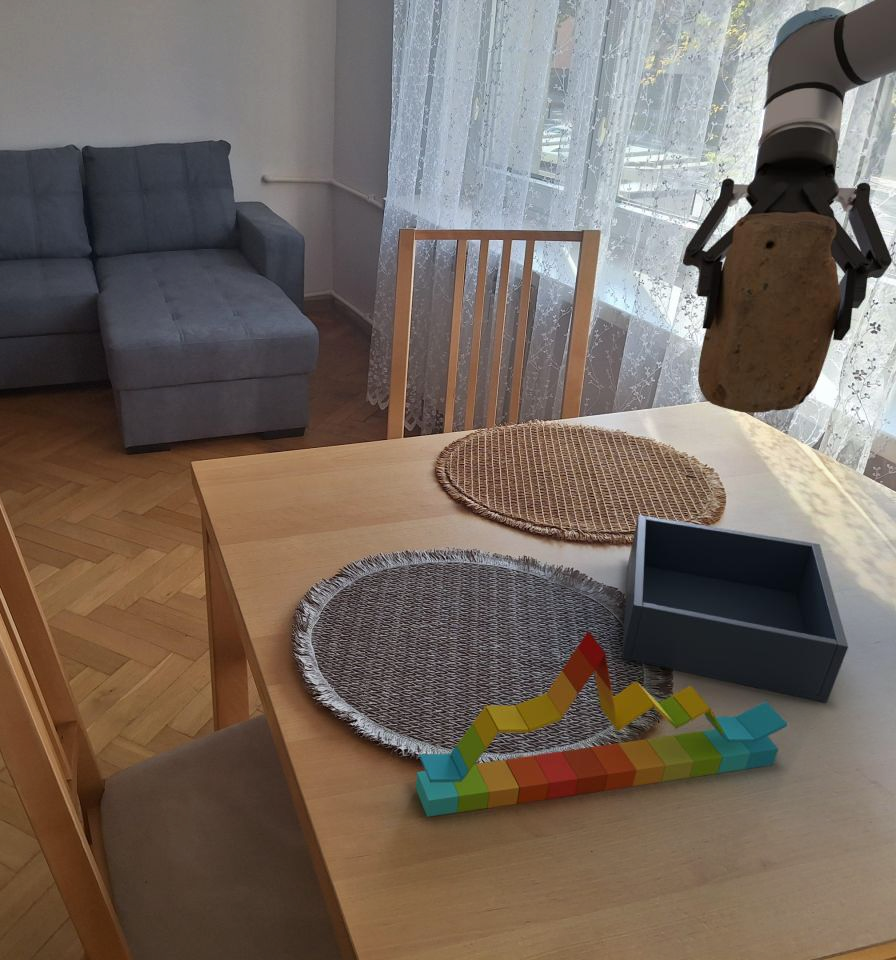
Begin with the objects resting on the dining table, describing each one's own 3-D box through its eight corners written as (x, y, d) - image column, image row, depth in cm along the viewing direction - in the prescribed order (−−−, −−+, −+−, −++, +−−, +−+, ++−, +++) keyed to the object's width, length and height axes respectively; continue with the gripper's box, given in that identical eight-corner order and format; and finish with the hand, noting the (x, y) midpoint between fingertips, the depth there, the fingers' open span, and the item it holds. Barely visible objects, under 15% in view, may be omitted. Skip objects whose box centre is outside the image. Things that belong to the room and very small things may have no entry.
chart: (748, 737, 75) (794, 599, 68) (772, 764, 73) (823, 624, 65) (414, 786, 72) (425, 646, 65) (426, 817, 69) (440, 675, 62)
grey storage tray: (802, 595, 93) (819, 543, 90) (827, 703, 79) (848, 647, 75) (627, 563, 99) (638, 514, 96) (621, 658, 85) (633, 604, 82)
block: (707, 413, 92) (752, 223, 82) (688, 386, 98) (727, 207, 89) (817, 417, 90) (876, 223, 81) (790, 389, 97) (841, 207, 87)
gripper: (914, 171, 92) (897, 356, 87) (672, 165, 100) (644, 333, 95) (944, 124, 85) (927, 322, 80) (681, 121, 94) (652, 300, 89)
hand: (773, 328), depth 88 cm, fingers closed on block, 11 cm apart
